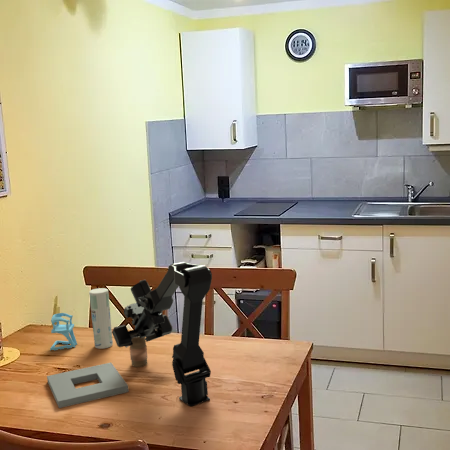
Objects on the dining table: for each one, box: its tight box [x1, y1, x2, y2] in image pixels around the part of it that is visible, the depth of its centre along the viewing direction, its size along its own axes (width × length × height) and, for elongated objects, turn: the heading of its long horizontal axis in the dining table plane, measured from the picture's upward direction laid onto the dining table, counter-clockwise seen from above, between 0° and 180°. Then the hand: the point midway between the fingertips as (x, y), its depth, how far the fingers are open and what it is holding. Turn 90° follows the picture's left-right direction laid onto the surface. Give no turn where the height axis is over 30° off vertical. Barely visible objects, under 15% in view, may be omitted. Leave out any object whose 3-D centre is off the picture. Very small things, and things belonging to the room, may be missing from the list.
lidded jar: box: [129, 337, 148, 368], centre depth 203 cm, size 5×5×10 cm
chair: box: [49, 312, 78, 351], centre depth 222 cm, size 8×8×12 cm
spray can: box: [88, 287, 114, 349], centre depth 220 cm, size 6×6×20 cm
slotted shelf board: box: [46, 362, 129, 409], centre depth 188 cm, size 20×20×2 cm
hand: (136, 343), depth 203 cm, fingers open, 7 cm apart
